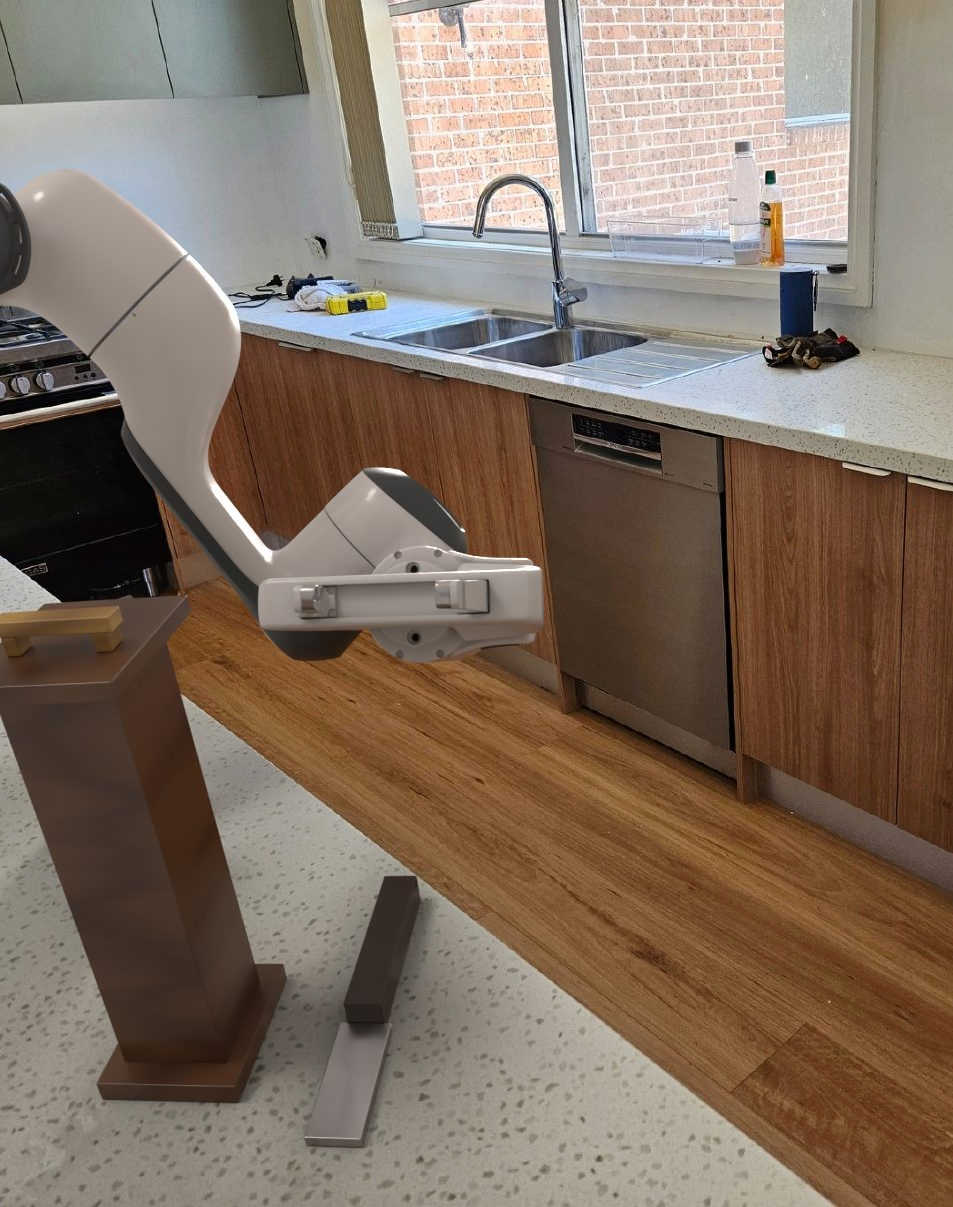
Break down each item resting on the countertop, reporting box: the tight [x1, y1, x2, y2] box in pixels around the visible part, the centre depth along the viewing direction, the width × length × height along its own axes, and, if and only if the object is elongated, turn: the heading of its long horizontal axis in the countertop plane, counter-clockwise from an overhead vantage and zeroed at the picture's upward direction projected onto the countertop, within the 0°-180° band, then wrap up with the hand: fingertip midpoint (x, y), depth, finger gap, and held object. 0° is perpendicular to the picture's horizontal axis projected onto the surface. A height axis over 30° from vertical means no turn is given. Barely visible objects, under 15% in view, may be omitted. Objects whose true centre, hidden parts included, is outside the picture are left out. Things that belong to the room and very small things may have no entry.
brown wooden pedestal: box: [0, 594, 288, 1103], centre depth 56 cm, size 8×9×28 cm
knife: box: [303, 875, 422, 1148], centre depth 62 cm, size 3×18×2 cm, turn 172°
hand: (374, 596), depth 69 cm, fingers open, 8 cm apart
